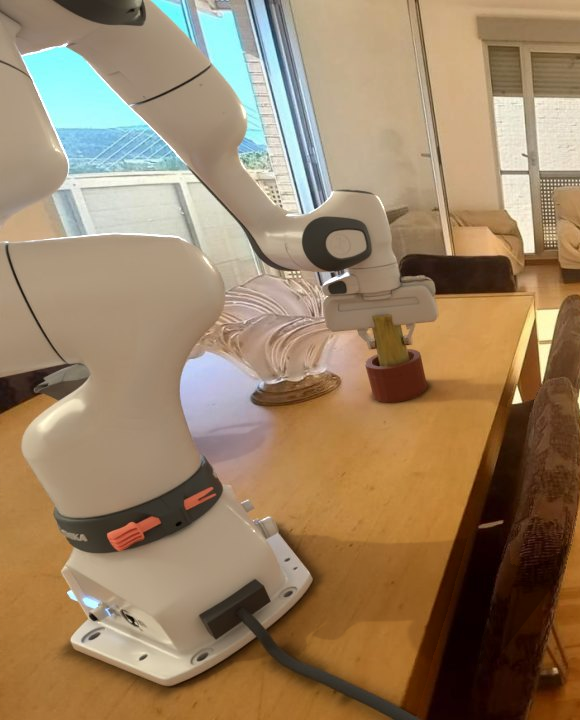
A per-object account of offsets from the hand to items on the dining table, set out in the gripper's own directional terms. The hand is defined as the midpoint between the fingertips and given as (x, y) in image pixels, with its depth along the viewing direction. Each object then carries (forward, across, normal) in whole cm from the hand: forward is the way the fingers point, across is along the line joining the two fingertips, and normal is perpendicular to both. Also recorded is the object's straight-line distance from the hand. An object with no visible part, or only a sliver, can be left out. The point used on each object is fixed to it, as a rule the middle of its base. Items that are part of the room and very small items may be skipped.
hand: (391, 346), depth 96 cm
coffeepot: (+10, +43, +8) cm, 45 cm away
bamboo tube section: (+7, 0, 0) cm, 7 cm away
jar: (+10, 0, 0) cm, 10 cm away
